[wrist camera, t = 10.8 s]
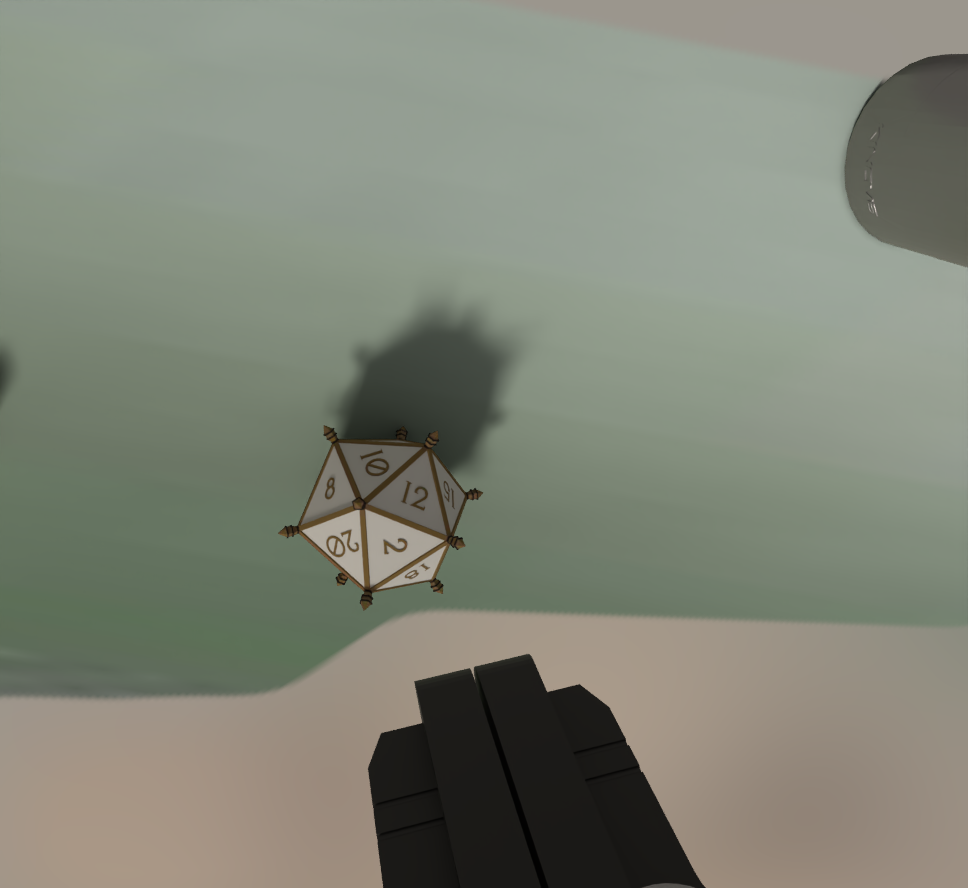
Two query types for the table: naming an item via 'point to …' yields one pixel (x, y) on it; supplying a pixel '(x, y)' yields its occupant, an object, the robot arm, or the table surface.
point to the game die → (383, 512)
